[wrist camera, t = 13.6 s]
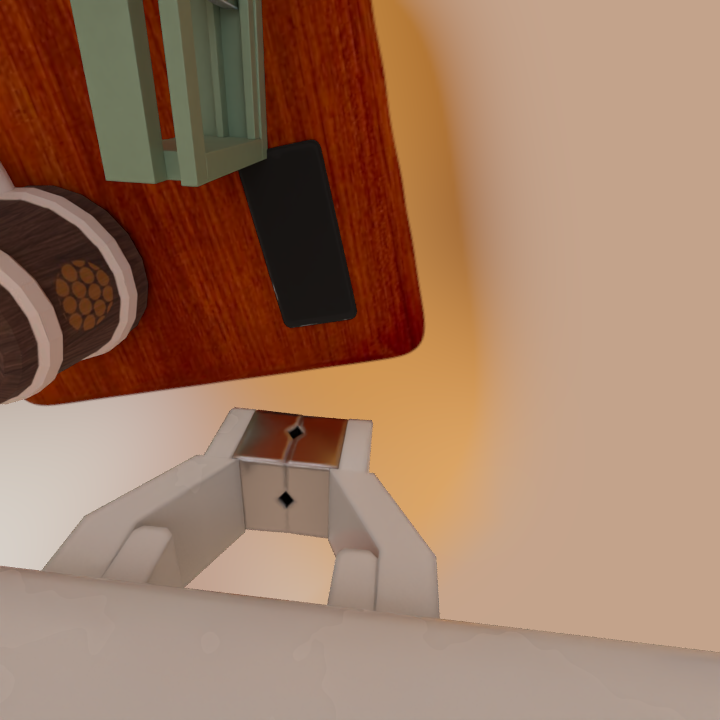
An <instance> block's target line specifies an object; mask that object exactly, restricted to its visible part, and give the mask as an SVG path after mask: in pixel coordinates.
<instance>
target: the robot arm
mask: <svg viewBox="0 0 720 720" xmlns="http://www.w3.org/2000/svg"><path fill="white" fill-rule="evenodd" d="M372 427H373V423H372V420H358V419H349V420H347V419H336V418H325V417H314V416H303V415H298V414H290V413H281V412H273V411H264V410H255V409H245V408H236V407H235V408H233V409H231V410H230V411H229V413H228V415H227V417H226V418H225V420H224V422H223V423H222V425H221V427H220V429H219V430H218V432H217V434H216V435H215V437H214V439H213V440H212V442H211V444H210V446H209V447H208V449H207V451H206V453H205V454H204V455H196V456H194V457H192V458H190V459H188V460H187V461H185V462H183V463H181V464H179V465H177V466H175V467H174V468H172V469H170V470H168V471H166V472H164V473H163V474H161V475H159V476H157V477H155V478H154V479H152V480H150V481H148V482H146V483H144V484H142V485H141V486H139V487H137V488H135V489H133V490H132V491H130V492H128V493H126V494H124V495H122V496H120V497H119V498H117V499H115V500H113V501H111V502H110V503H108V504H106V505H104V506H102V507H100V508H99V509H97V510H95V511H93V512H91V513H90V514H88V515H86V516H84V517H83V519H82V520H81V521H80V522H79V524H78V525H77V527H75V529H74V530H73V531H72V533H71V534H70V535H69V536H68V538H67V539H66V540H65V541H64V543H63V544H62V545H61V547H60V548H59V549H58V551H57V552H56V553H55V554H54V555H53V557H52V558H51V559H50V561H49V562H48V563H47V564H46V566H45V567H44V568H43V570H42V571H39V570H31V569H22V568H14V567H6V566H0V720H720V652H713V651H705V650H697V649H687V648H680V647H671V646H663V645H655V644H647V643H638V642H630V641H622V640H613V639H605V638H597V637H588V636H580V635H572V634H563V633H555V632H547V631H538V630H529V629H522V628H513V627H504V626H496V625H488V624H480V623H471V622H463V621H454V620H446V619H440V617H439V598H438V580H437V563H436V556H435V554H434V553H433V552H432V550H431V549H430V548H429V546H428V545H427V544H426V542H425V541H424V540H423V539H422V537H421V536H420V535H419V533H418V532H417V530H416V529H415V528H414V526H413V525H412V524H411V522H410V521H409V520H408V518H407V517H406V516H405V514H404V513H403V511H402V510H401V509H400V507H399V506H398V505H397V503H396V502H395V501H394V499H393V498H392V497H391V495H390V494H389V493H388V491H387V490H386V489H385V487H384V486H383V485H382V483H381V482H380V481H379V479H378V478H377V477H376V475H375V474H374V473H369V464H370V452H371V438H372ZM245 529H249V530H260V531H272V532H284V533H292V534H299V535H307V536H314V537H321V538H328V541H329V543H330V546H331V548H332V550H333V552H334V555H335V557H336V560H335V565H334V571H333V577H332V582H331V587H330V593H329V598H328V604H327V605H322V604H313V603H305V602H298V601H289V600H281V599H273V598H263V597H255V596H247V595H239V594H231V593H221V592H214V591H206V590H198V589H189V588H184V587H185V586H186V585H188V584H189V583H190V582H191V581H192V580H193V579H194V578H195V577H196V576H197V575H198V574H200V573H201V572H202V571H203V570H204V569H205V568H206V567H207V566H208V565H209V564H211V563H212V562H213V561H214V560H215V559H216V558H217V557H218V556H219V555H220V554H221V553H223V552H224V551H225V550H226V549H227V548H228V547H229V546H230V545H231V544H232V543H234V542H235V541H236V540H237V539H238V538H239V537H240V536H241V535H242V534H243V533H245Z"/></svg>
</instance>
